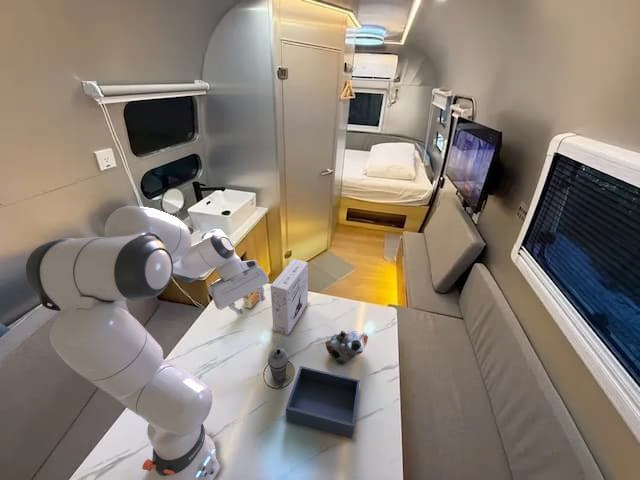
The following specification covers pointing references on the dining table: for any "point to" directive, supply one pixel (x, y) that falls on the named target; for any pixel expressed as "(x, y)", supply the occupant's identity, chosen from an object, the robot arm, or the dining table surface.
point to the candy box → (251, 298)
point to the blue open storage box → (324, 401)
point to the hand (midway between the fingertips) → (252, 307)
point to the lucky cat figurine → (346, 345)
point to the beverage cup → (278, 365)
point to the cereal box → (289, 295)
